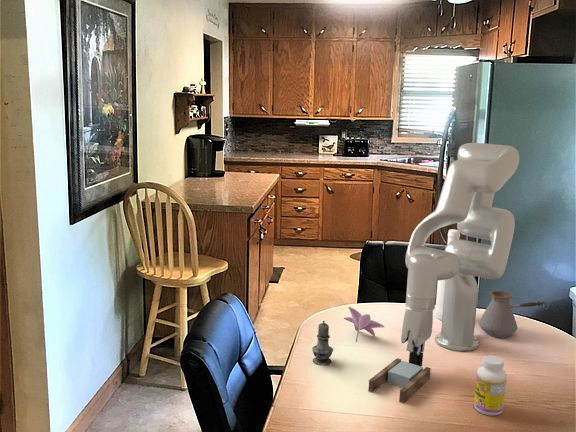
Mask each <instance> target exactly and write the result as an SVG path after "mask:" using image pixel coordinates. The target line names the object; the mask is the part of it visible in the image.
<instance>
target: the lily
mask: <svg viewBox="0 0 576 432" xmlns="http://www.w3.org/2000/svg"><path fill="white" fill-rule="evenodd" d="M348 310H349V311H350V315H351V316H349V317H348V316H347V317H343V320H345V321H348V322H350V323H352V324H353V325H354V330H355V331H356V332H357V333H356V338H355V343H357V342H358V337H359V333H360V331H362V330H365V331H366V332H368V333H369V334H370V335H372V336H374V337H375V336H376V333H375V331H374V329H376V328H385V325H384V324H381V323H380V322H378V321H376V320H372V319H371V315H370V314H369V313H367V314H361V312H359V311H358V310H356V309H354V308H353V307H350V306H348Z"/></svg>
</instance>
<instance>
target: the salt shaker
mask: <svg viewBox="0 0 576 432" xmlns="http://www.w3.org/2000/svg"><path fill="white" fill-rule="evenodd" d="M329 328H330V327H329V324H328V323H326V321H325V320H323V321H322V322H321V323H319V324H318V329H317V330H318V331H317V335H316V338H317V343H316V345H314V346H312V347H311V351H312V353H313V356H314V357H313V359H312V362H313V364H315V365H316V366H329V365H331V364H332V359H331V358H330V357H331V356H332V354H333V352H334V348H333V347H332V346H331V345H329V340H330V337H331V335H330V334H329V333H330V332H329V331H330V329H329Z"/></svg>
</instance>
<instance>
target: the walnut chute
mask: <svg viewBox="0 0 576 432" xmlns="http://www.w3.org/2000/svg"><path fill="white" fill-rule="evenodd" d="M401 361H402V359H401V358H395V359H394V360H392V362H390V363H389V364H387V365H386V366H385V367H384V368H382V369H381V370H380V371H379V372H377V373H376V374H375V375H373V377H371V378H369V380H368V390H367V391H368V392H369V393H374V392H376V390H377V389H379V388H380V387H381V386H383V384H385V383H386V382H388V371H389V370H390V369H392V368H393V367H394V366H396V365H397V364H398V363H400V362H401ZM430 379H431V368H430V367H428V366H425V368H423V370H422V371H421V372H420V373H419V374H418V375H417V376H416V377H414V378H413V379H412V380H411V381H410V382H409V383H408V384H407V385H405V386H404V387H403V388H401V389H399V396H398V397H399V398H398V399H399V400H398V402H399V403H402V404H404V403H406V402H407V401H408V400H409V399H410V398H411V397H412V396H414V395H415V394H416V393H417V391H419V390H420V389H421V388H422V387H423V386H424V385H425V384H426V383H427V382H428V381H429V380H430Z"/></svg>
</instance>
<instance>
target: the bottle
mask: <svg viewBox="0 0 576 432" xmlns="http://www.w3.org/2000/svg"><path fill="white" fill-rule="evenodd" d="M460 237H461V233H460V232H459V231H458V229H451V228H450V229H449V230H448V233H447V244H448V243H450V242H451V241H454V240H460V239H461V238H460ZM447 244H446V245H447ZM444 291H445V280H439V281H437V287H436V298H435V309H434V318H436V319H437V320H439V321H441V322H442V315H443V303H444Z"/></svg>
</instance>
